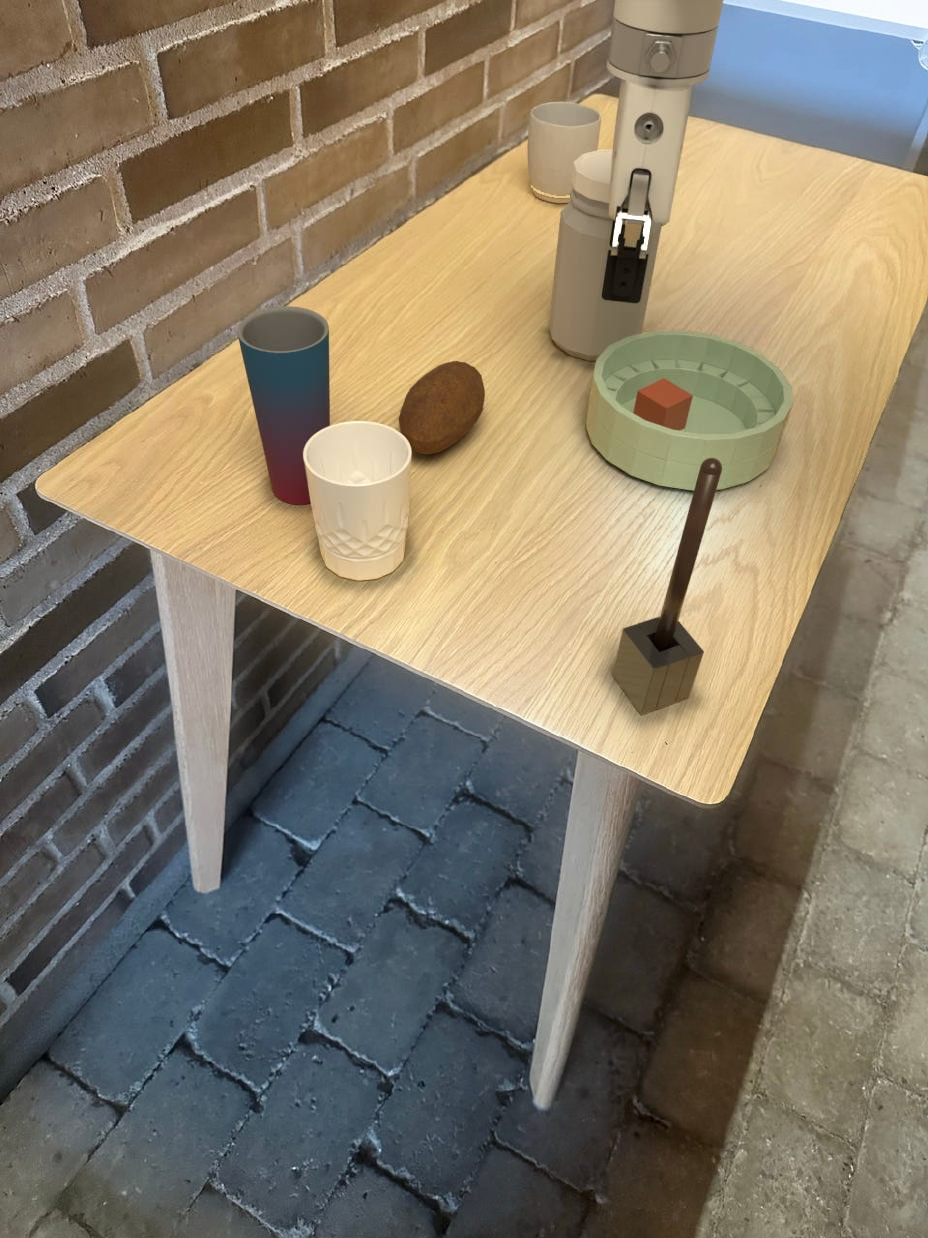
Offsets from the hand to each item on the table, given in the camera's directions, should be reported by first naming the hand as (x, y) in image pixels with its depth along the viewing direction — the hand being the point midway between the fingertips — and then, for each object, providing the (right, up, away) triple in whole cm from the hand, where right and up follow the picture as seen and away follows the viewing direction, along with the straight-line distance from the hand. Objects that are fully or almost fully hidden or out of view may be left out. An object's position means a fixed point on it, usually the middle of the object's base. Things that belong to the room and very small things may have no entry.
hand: (623, 272), depth 81 cm
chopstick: (0, -35, -14) cm, 37 cm away
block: (+5, -12, +8) cm, 15 cm away
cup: (-28, -18, +1) cm, 33 cm away
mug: (0, +28, +46) cm, 54 cm away
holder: (0, -35, -14) cm, 37 cm away
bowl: (+6, -13, +7) cm, 16 cm away
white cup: (-22, -25, -5) cm, 33 cm away
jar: (0, 0, +19) cm, 19 cm away
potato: (-16, -13, +6) cm, 22 cm away
